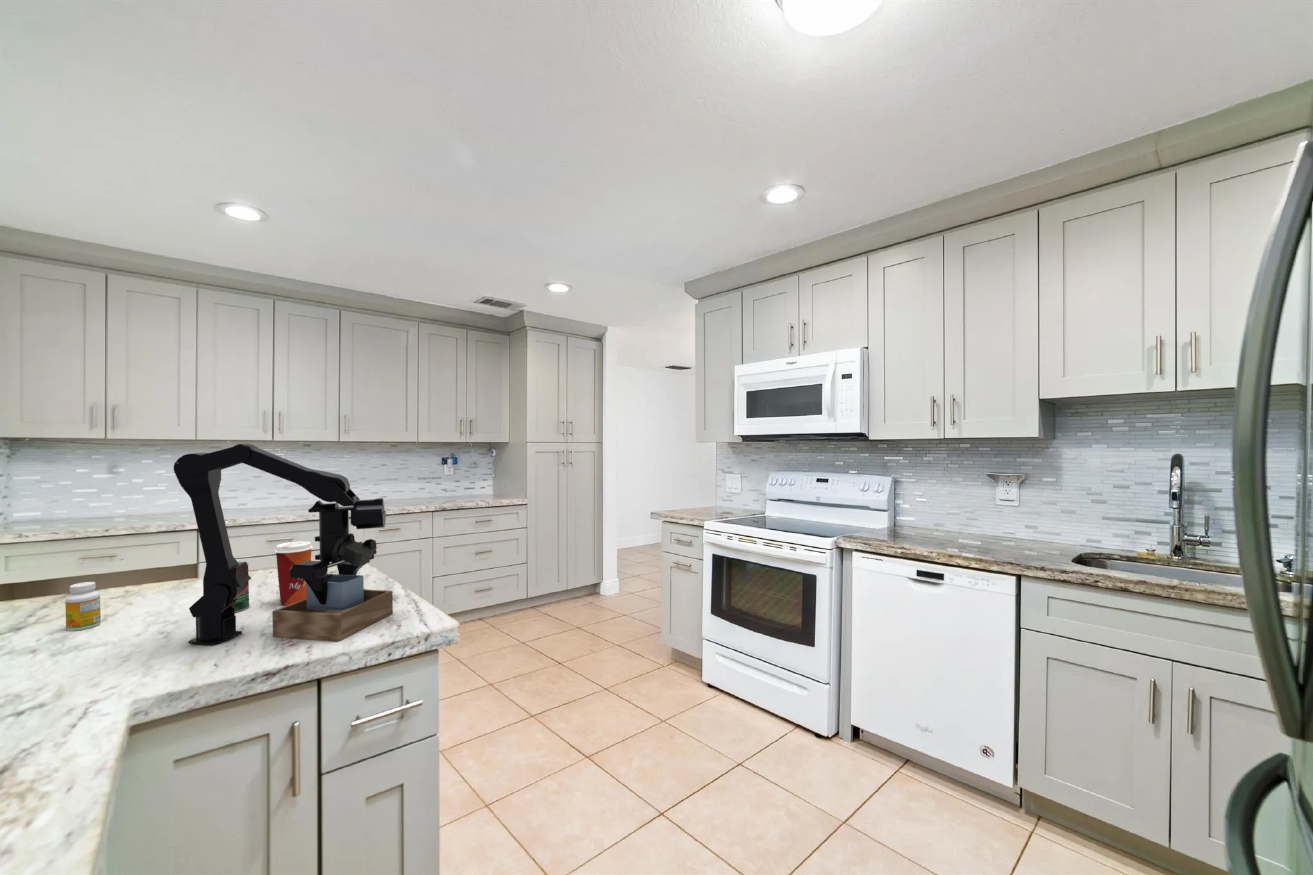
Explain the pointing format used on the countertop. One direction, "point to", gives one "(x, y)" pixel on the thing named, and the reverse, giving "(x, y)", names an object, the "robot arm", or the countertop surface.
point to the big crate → (331, 618)
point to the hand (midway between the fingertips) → (335, 599)
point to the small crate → (339, 593)
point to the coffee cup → (286, 557)
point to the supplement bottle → (82, 607)
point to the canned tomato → (242, 599)
